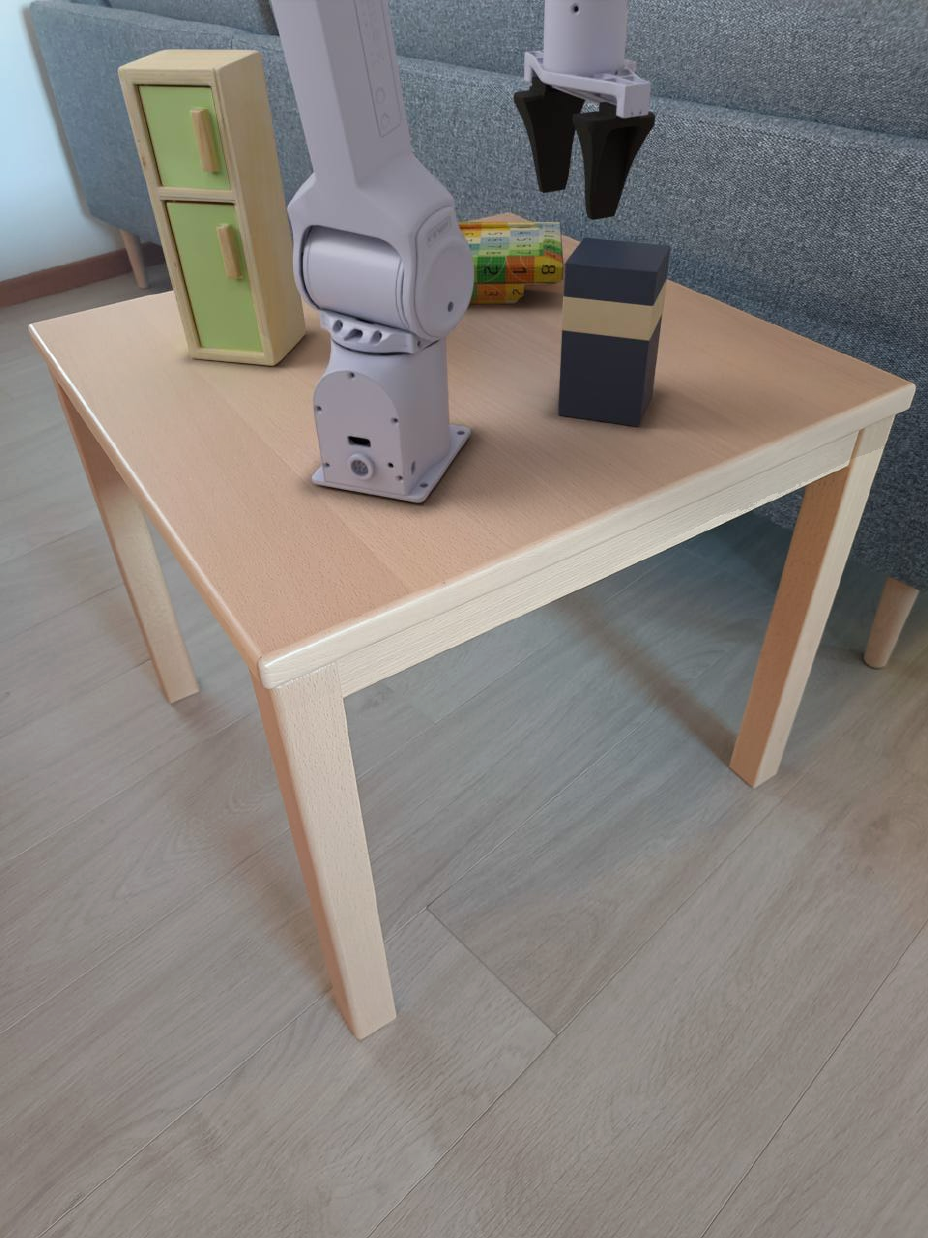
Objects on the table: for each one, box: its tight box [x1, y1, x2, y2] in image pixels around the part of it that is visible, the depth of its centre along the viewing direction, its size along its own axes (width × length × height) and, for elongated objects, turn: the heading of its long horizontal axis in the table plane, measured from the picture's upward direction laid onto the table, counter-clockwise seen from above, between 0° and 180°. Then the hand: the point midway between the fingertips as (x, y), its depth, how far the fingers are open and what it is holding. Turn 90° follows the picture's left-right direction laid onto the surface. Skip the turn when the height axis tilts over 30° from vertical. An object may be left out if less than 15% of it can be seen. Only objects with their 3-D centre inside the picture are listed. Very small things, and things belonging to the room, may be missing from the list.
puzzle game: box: [458, 221, 565, 305], centre depth 83 cm, size 12×5×20 cm
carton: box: [557, 237, 671, 427], centre depth 62 cm, size 5×6×11 cm
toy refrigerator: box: [117, 48, 307, 367], centre depth 68 cm, size 8×7×21 cm
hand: (575, 203), depth 69 cm, fingers open, 7 cm apart
